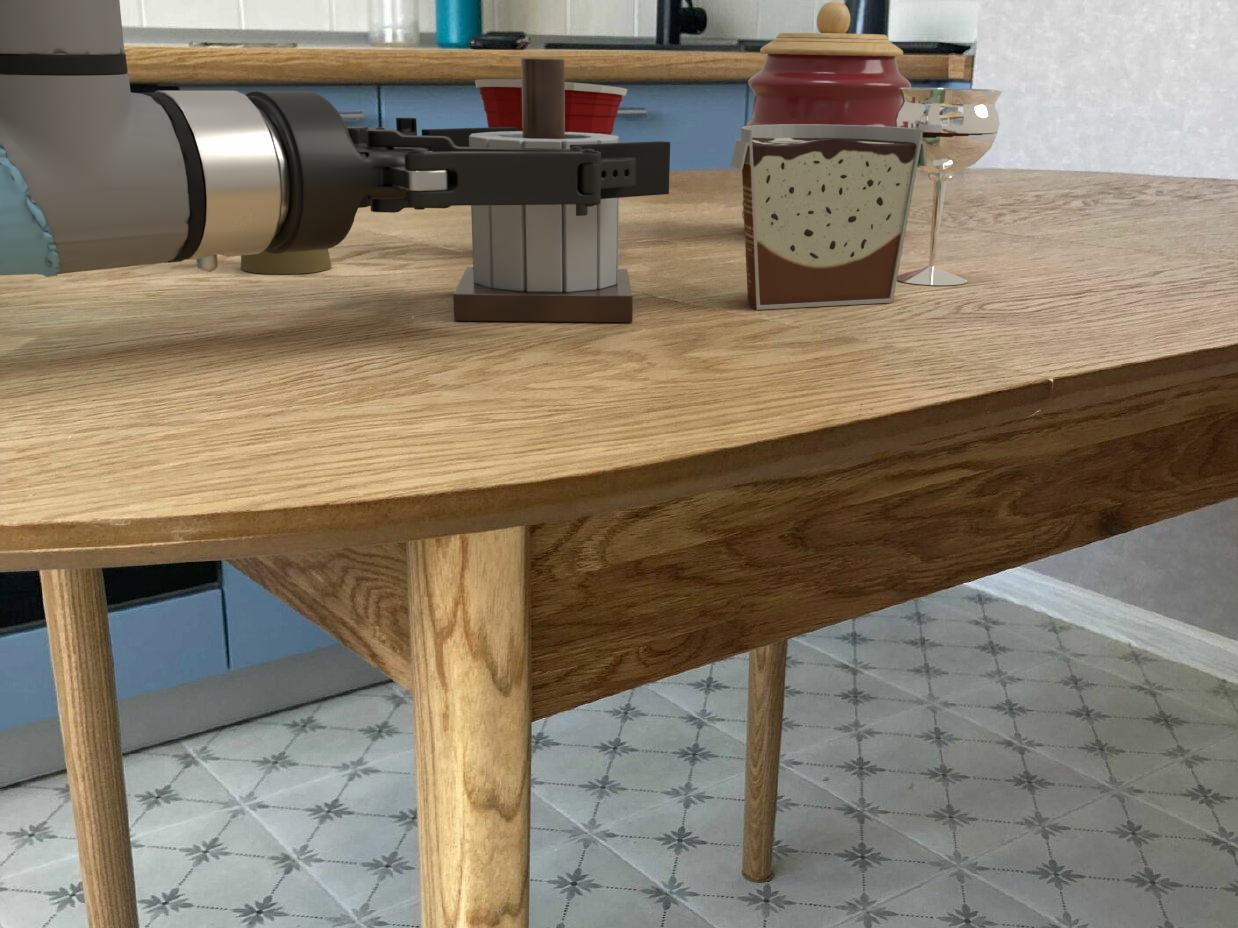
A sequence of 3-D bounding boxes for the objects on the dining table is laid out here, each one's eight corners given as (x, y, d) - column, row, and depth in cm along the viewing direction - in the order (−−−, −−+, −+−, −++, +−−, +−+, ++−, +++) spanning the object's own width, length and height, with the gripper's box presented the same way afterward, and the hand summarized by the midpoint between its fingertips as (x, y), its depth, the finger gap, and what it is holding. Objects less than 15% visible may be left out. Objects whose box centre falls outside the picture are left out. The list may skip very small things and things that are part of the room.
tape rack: (454, 321, 76) (443, 57, 70) (467, 291, 85) (459, 56, 79) (632, 323, 76) (636, 61, 71) (626, 293, 85) (630, 59, 80)
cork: (301, 276, 89) (286, 95, 84) (222, 270, 91) (203, 93, 86) (348, 264, 94) (336, 93, 90) (272, 258, 96) (257, 90, 91)
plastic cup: (649, 251, 103) (652, 80, 98) (584, 269, 94) (585, 81, 89) (524, 241, 107) (521, 76, 102) (451, 257, 98) (444, 77, 93)
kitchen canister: (898, 248, 107) (921, 0, 99) (734, 242, 108) (745, -3, 101) (895, 229, 118) (916, 5, 111) (747, 223, 120) (758, 3, 113)
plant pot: (469, 292, 76) (464, 139, 73) (479, 269, 83) (475, 130, 80) (619, 293, 76) (620, 142, 73) (615, 270, 84) (617, 132, 81)
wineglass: (972, 290, 89) (995, 92, 84) (870, 282, 91) (887, 89, 86) (987, 276, 94) (1010, 90, 89) (891, 269, 97) (908, 87, 92)
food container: (864, 285, 89) (877, 123, 85) (913, 301, 84) (930, 129, 80) (692, 294, 85) (698, 124, 81) (733, 311, 80) (742, 130, 76)
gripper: (152, 227, 76) (462, 205, 89) (399, 288, 59) (735, 250, 72) (134, 82, 73) (458, 81, 86) (390, 103, 56) (743, 99, 69)
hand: (585, 158), depth 79 cm, fingers open, 13 cm apart
